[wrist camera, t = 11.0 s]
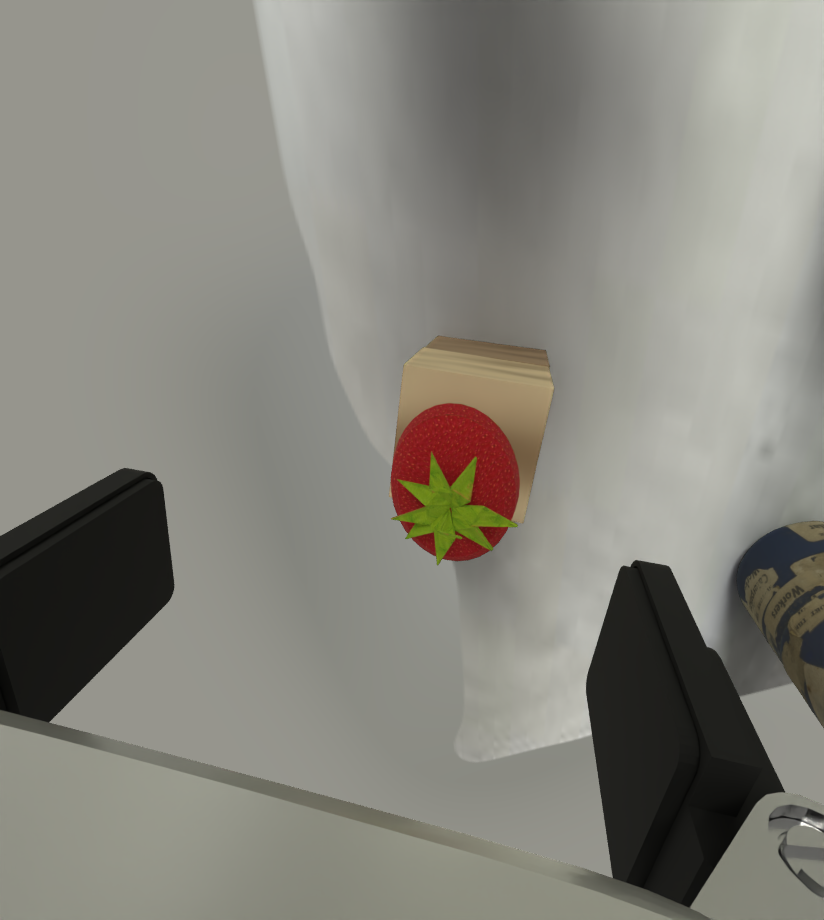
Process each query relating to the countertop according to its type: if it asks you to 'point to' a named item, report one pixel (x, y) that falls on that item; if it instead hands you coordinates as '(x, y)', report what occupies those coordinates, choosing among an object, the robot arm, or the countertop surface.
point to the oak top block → (483, 400)
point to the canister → (790, 602)
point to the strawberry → (454, 482)
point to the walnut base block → (491, 350)
